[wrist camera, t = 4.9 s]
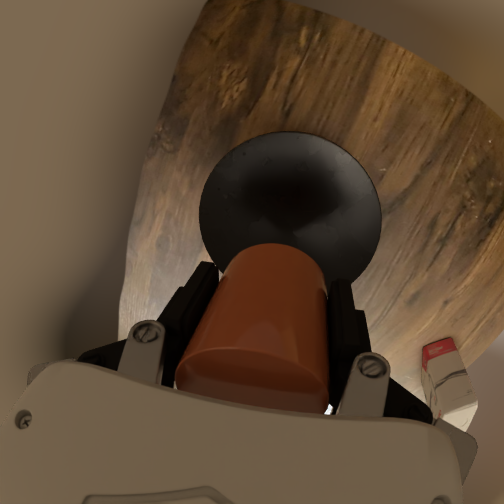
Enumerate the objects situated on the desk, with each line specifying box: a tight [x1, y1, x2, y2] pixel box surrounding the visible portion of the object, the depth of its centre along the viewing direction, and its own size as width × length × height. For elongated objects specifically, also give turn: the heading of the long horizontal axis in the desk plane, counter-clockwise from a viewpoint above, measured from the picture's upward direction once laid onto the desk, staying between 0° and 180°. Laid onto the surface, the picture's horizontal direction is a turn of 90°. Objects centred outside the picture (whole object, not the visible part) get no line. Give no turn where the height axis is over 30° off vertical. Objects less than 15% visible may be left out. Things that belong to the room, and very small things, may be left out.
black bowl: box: [199, 131, 381, 298], centre depth 24 cm, size 14×14×7 cm
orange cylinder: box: [175, 243, 330, 414], centre depth 10 cm, size 5×5×6 cm
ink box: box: [421, 338, 478, 432], centre depth 28 cm, size 9×5×12 cm, turn 21°
